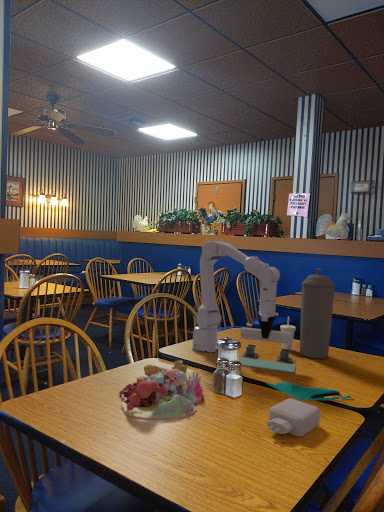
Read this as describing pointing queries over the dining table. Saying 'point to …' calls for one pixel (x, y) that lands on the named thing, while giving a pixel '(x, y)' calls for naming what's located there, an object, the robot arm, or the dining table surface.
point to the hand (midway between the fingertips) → (265, 337)
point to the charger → (293, 417)
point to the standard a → (250, 351)
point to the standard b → (284, 356)
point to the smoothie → (288, 329)
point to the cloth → (305, 391)
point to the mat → (267, 365)
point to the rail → (273, 337)
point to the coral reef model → (162, 394)
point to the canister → (316, 315)
